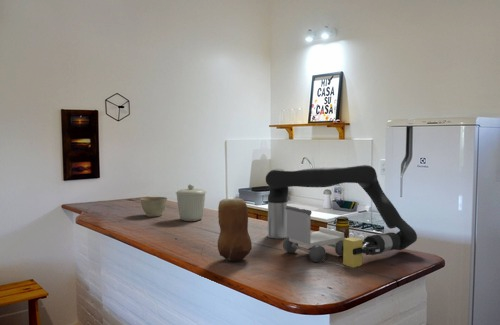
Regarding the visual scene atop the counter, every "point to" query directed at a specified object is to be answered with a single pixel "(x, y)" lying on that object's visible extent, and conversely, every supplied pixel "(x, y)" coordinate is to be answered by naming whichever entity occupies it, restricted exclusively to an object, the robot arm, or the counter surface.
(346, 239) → the yellow rectangular block
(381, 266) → the counter surface
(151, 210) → the planter bowl
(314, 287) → the counter surface
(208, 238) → the counter surface
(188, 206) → the canister
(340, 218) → the condiment
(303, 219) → the trolley
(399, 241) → the robot arm
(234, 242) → the butternut squash
